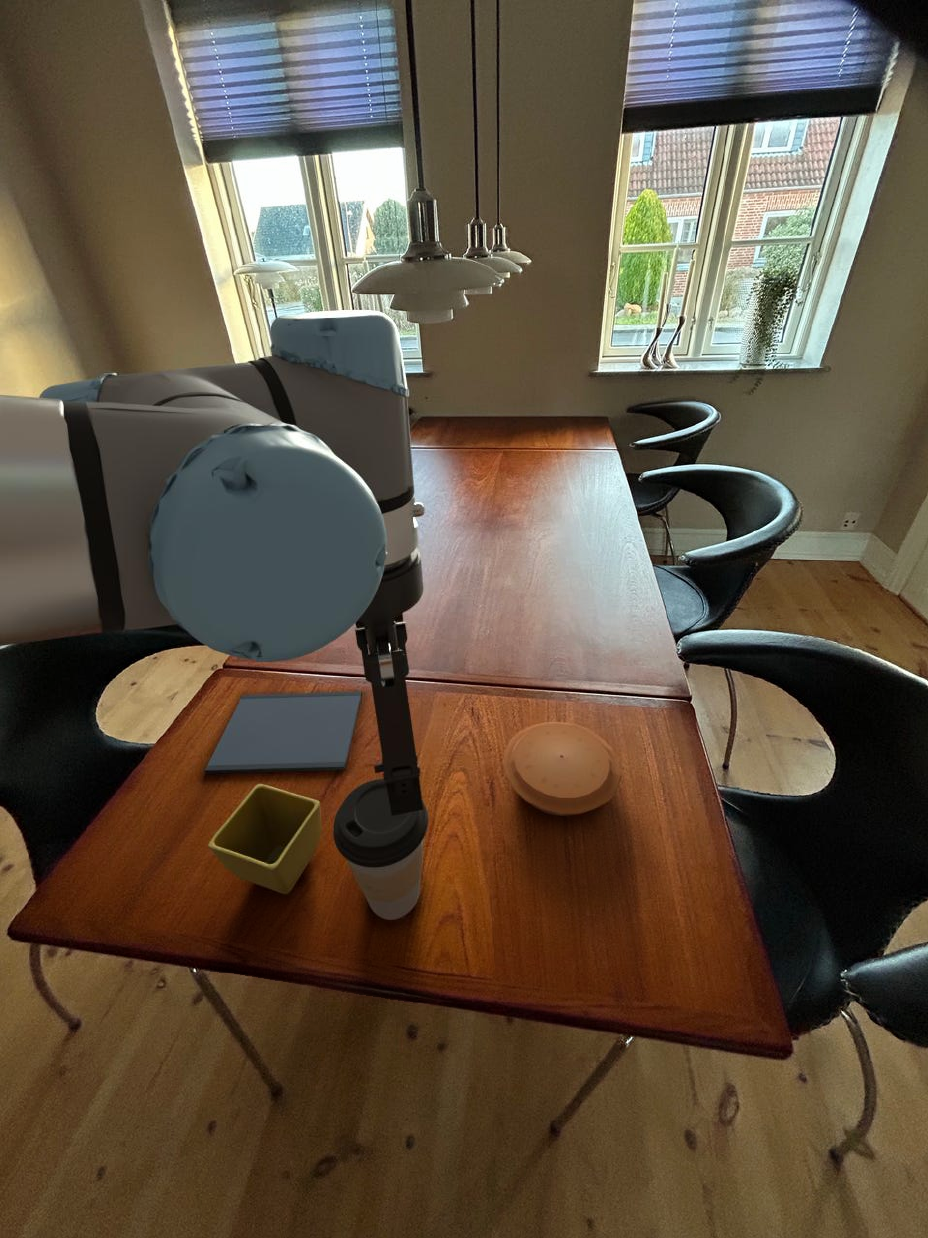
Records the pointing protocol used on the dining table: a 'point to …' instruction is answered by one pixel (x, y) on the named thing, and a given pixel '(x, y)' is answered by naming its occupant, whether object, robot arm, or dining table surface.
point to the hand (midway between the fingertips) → (398, 750)
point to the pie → (561, 768)
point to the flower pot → (269, 838)
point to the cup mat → (287, 733)
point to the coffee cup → (382, 848)
